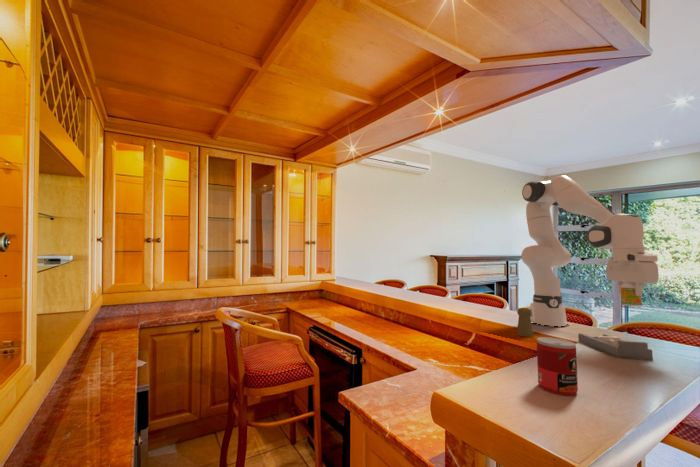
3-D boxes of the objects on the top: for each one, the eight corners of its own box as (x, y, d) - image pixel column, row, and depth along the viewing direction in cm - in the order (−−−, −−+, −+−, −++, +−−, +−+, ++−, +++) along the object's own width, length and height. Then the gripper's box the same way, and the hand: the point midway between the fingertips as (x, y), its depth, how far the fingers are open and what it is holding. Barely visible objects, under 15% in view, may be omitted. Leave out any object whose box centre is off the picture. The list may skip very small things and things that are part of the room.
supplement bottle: (624, 306, 110) (622, 278, 111) (619, 304, 115) (618, 278, 116) (644, 307, 108) (642, 279, 109) (638, 305, 112) (636, 278, 113)
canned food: (564, 398, 67) (562, 346, 68) (530, 384, 74) (528, 338, 75) (586, 393, 70) (583, 343, 71) (551, 380, 77) (549, 335, 78)
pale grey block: (597, 345, 110) (597, 335, 110) (618, 346, 109) (617, 336, 110) (604, 347, 107) (603, 338, 107) (625, 348, 106) (624, 339, 106)
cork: (514, 335, 127) (514, 308, 128) (519, 332, 131) (518, 306, 132) (531, 337, 123) (530, 309, 124) (535, 335, 127) (534, 308, 128)
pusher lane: (578, 341, 119) (578, 327, 119) (606, 342, 117) (606, 329, 118) (617, 357, 98) (617, 341, 98) (652, 359, 97) (651, 343, 97)
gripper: (600, 256, 124) (602, 291, 122) (640, 256, 103) (643, 297, 102) (617, 257, 123) (619, 292, 121) (661, 256, 103) (664, 298, 101)
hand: (630, 294), depth 112 cm, fingers closed on supplement bottle, 5 cm apart
